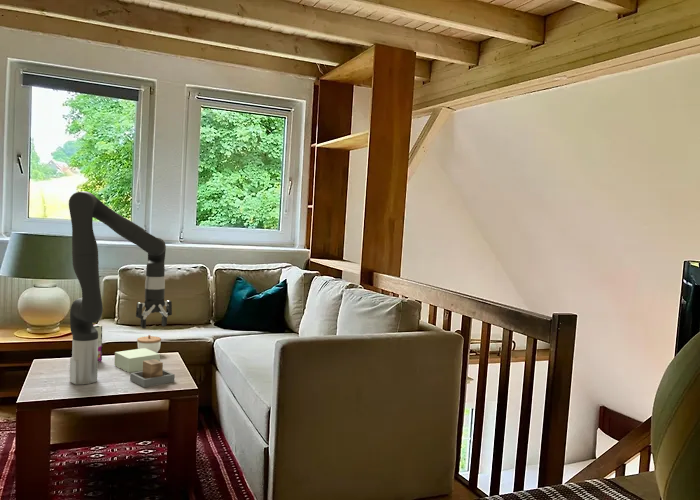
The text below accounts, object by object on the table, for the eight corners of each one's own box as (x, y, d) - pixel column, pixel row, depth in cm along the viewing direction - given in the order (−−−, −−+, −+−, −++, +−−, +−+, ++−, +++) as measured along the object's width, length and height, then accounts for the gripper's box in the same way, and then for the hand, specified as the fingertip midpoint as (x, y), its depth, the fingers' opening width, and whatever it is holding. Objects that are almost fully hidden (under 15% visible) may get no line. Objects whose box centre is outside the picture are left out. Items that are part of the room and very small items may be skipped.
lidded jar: (138, 357, 265) (138, 338, 265) (135, 352, 275) (136, 333, 274) (161, 356, 270) (162, 337, 269) (159, 351, 280) (159, 332, 279)
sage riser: (128, 372, 241) (129, 358, 240) (114, 365, 250) (114, 352, 250) (159, 367, 251) (159, 354, 250) (144, 360, 260) (145, 348, 260)
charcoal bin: (143, 387, 222) (144, 379, 221) (130, 380, 230) (130, 373, 230) (174, 381, 231) (174, 374, 231) (160, 375, 239) (160, 368, 239)
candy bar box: (96, 359, 260) (97, 323, 259) (102, 361, 257) (103, 325, 256) (72, 363, 251) (72, 326, 250) (77, 365, 248) (78, 328, 247)
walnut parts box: (150, 384, 226) (151, 364, 226) (142, 380, 231) (142, 360, 231) (162, 382, 230) (162, 362, 229) (153, 378, 235) (154, 359, 234)
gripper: (142, 289, 221) (141, 330, 221) (175, 287, 231) (174, 326, 232) (133, 287, 226) (132, 327, 227) (166, 285, 236) (165, 323, 237)
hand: (153, 327), depth 229 cm, fingers open, 8 cm apart
